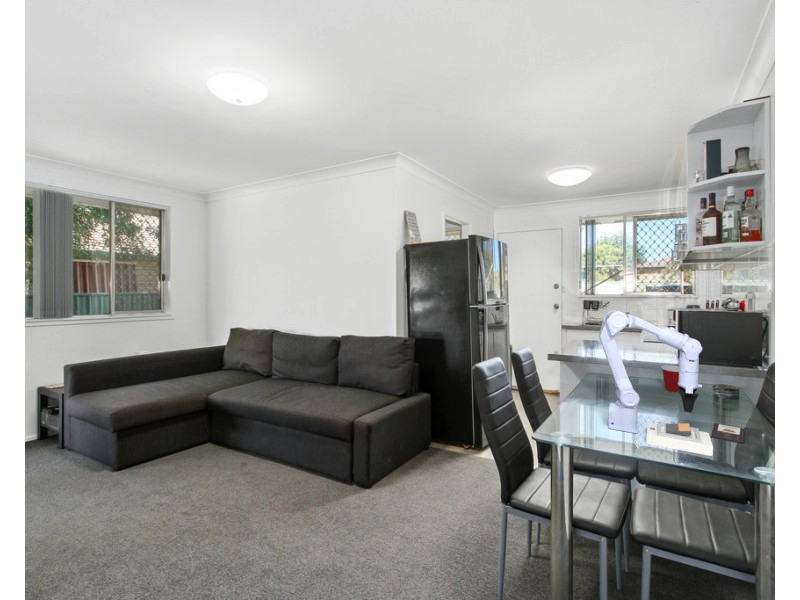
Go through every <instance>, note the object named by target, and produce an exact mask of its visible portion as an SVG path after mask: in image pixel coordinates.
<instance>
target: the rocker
mask: <svg viewBox="0 0 800 600" xmlns="http://www.w3.org/2000/svg"><path fill="white" fill-rule="evenodd" d="M690 427H691V425H690V423H688V422H687V423H683V422H682V423H669V424H666V433H669V434H675V435H680V436H681V435H692V434H691V429H690Z"/></svg>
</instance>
